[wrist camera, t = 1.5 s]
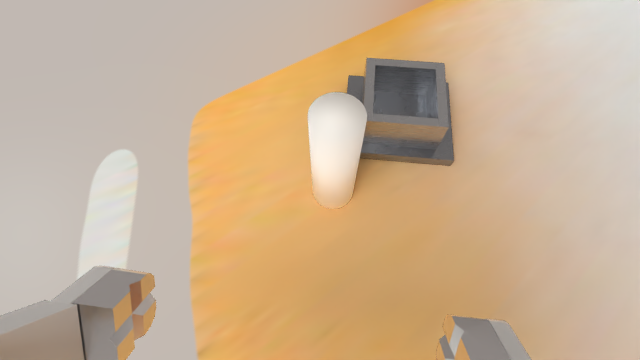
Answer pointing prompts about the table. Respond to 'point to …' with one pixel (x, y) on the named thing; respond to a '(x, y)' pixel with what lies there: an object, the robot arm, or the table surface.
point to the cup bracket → (405, 111)
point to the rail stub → (335, 146)
